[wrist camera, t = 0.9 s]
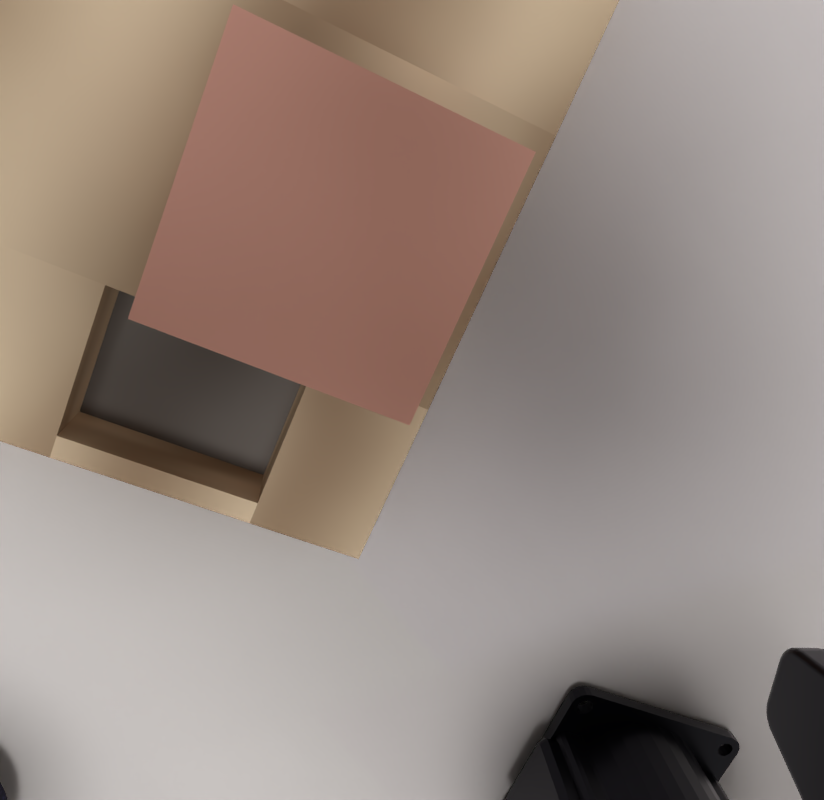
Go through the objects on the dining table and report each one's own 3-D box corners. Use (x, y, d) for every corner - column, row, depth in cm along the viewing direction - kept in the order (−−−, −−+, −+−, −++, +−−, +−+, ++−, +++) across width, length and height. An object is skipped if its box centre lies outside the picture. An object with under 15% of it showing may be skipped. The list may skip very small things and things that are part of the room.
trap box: (618, -51, 17) (726, -124, 13) (356, 522, 21) (363, 628, 17) (-231, -538, 13) (-540, -914, 9) (-353, 281, 17) (-606, 331, 13)
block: (477, 150, 16) (535, 151, 12) (388, 351, 18) (409, 425, 13) (262, 47, 15) (232, 4, 11) (185, 270, 17) (127, 318, 12)
